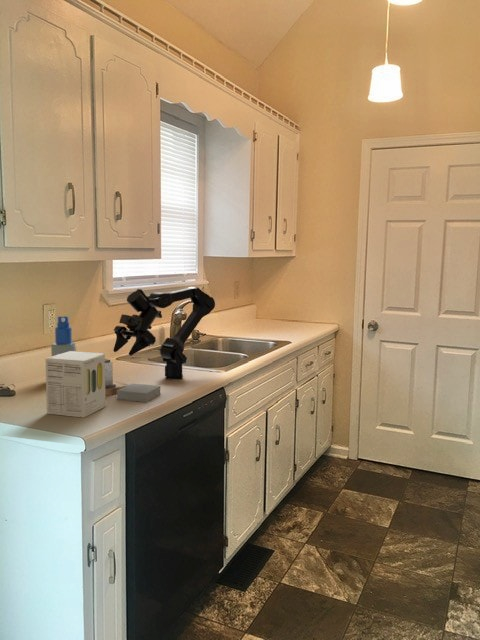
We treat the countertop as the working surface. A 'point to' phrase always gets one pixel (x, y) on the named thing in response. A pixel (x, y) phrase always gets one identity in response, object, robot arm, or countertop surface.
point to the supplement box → (75, 383)
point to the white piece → (108, 372)
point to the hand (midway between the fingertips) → (121, 353)
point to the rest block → (138, 392)
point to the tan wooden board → (114, 388)
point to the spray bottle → (62, 337)
